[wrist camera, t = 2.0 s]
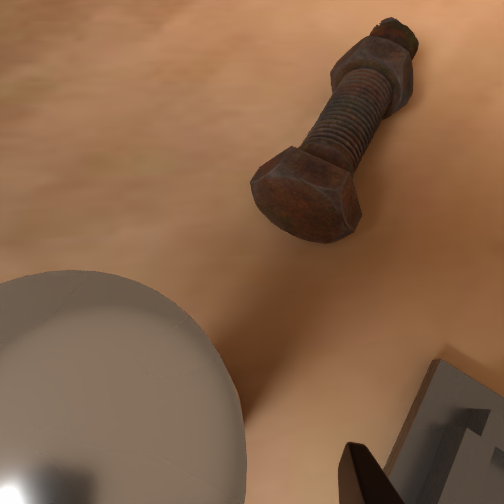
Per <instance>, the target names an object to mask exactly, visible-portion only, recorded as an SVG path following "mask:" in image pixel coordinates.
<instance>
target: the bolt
mask: <svg viewBox="0 0 504 504" xmlns="http://www.w3.org/2000/svg"><path fill="white" fill-rule="evenodd" d="M418 45H419V42H418V40H417V38H416V37H415V35H414V33H413V32H412V31H411V30H410V29H409V28H408V27H407V26H405V25H403V24H402V23H401V22H399V21H398V20H397V19H394V18H393V17H390V18H386V19H384V20H382V21H381V23H380V26H378V25H376V26H375V27H374V28H373V30H372V32H371V33H370V35H369V36H366V37H365V38H363V39H362V40H361V41H359V42H358V43H357V44H356V45H354V46H353V47H352V48H351V49H350V50H349V51H348V52H347V53H346V54H345V55H343V56H342V57H341V58H340V59H339V60H338V61H337V63H336V64H335V66H334V67H333V69H332V71H331V72H330V76H331V86H332V92H333V94H332V96H331V98H330V99H329V101H328V103H327V105H326V106H325V108H324V109H323V111H322V113H321V114H320V116H319V118H318V120H317V121H316V123H315V125H314V126H313V127H312V129H311V131H309V133H308V135H307V137H306V138H305V140H304V141H303V143H302V145H301V146H300V147H299V148H295V147H293V146H290V147H289V148H287V149H286V150H284V151H283V152H281V153H280V154H278V155H277V156H275V157H274V158H272V159H271V160H269V161H268V162H266V163H265V164H263V165H262V166H261V167H259V169H258V170H257V172H256V174H255V175H254V177H253V178H252V180H251V181H250V185H251V190H252V194H253V197H254V201H255V203H256V205H257V207H258V208H259V210H260V211H261V212H262V213H263V214H264V215H265V216H266V217H267V218H268V219H269V220H270V221H271V222H273V223H274V224H275V225H276V226H278V227H279V228H280V229H282V230H284V231H286V232H288V233H290V234H291V235H293V236H295V237H298V238H301V239H305V240H308V241H313V242H320V243H331V242H335V241H338V240H340V239H342V238H344V237H346V236H348V235H349V234H351V233H353V232H354V231H355V229H356V227H357V225H358V223H359V221H360V219H361V217H362V213H361V209H360V206H359V202H358V198H357V195H356V191H355V187H354V184H353V180H352V179H353V173H354V172H355V170H356V169H357V167H358V165H359V163H360V161H361V158H362V156H363V154H364V153H365V151H366V149H367V147H368V145H369V143H370V142H371V139H372V138H373V135H374V133H375V132H376V130H377V128H378V126H379V124H380V122H381V120H383V119H385V118H387V117H389V116H391V115H392V114H394V113H395V112H397V111H398V110H399V109H401V108H402V107H403V106H405V105H406V104H407V103H408V101H409V99H410V97H411V95H412V92H413V68H412V60H413V58H414V56H415V54H416V52H417V50H418Z"/></svg>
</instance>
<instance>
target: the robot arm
mask: <svg viewBox="0 0 504 504" xmlns="http://www.w3.org/2000/svg"><path fill="white" fill-rule="evenodd" d="M338 485H339V504H405V503H404V501H403V500H402V498H401V497H400V495H399V494H398V492H397V491H396V489H395V488H394V486H393V485H392V483H391V482H390V480H389V479H388V477H387V476H386V475H385V473H384V472H383V470H382V469H381V467H380V466H379V464H378V463H377V461H376V460H375V458H374V457H373V455H372V454H371V452H370V451H369V449H368V448H367V447H366V446H365V445H364V444H360V443H354V442H348V443H347V444H346V445H345V448H344V451H343V454H342V457H341V460H340V463H339V467H338Z"/></svg>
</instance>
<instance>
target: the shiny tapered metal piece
mask: <svg viewBox="0 0 504 504" xmlns="http://www.w3.org/2000/svg"><path fill="white" fill-rule="evenodd" d="M246 472H247V456H246V442H245V430H244V423H243V416H242V409H241V403H240V397H239V394H238V391H237V389H236V387H235V385H234V383H233V381H232V379H231V377H230V375H229V373H228V371H227V369H226V367H225V365H224V362H223V360H222V358H221V356H220V355H219V353H218V352H217V350H216V349H215V347H214V345H213V344H212V342H211V341H210V339H209V338H208V336H207V335H206V334H205V333H204V331H203V330H202V329H201V328H200V327H199V326H198V324H197V323H196V322H195V321H194V320H193V319H192V318H191V317H190V316H189V315H188V314H187V313H186V312H185V311H183V310H182V309H181V308H180V307H179V306H178V305H177V304H176V303H174V302H173V301H171V300H170V299H168V298H167V297H165V296H163V295H162V294H160V293H159V292H157V291H156V290H153V289H151V288H149V287H147V286H145V285H143V284H141V283H139V282H136V281H133V280H130V279H127V278H124V277H121V276H118V275H113V274H108V273H102V272H96V271H81V270H65V271H51V272H44V273H39V274H34V275H28V276H24V277H21V278H17V279H14V280H11V281H7V282H4V283H1V284H0V504H244V501H245V494H246Z"/></svg>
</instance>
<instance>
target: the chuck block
mask: <svg viewBox="0 0 504 504" xmlns="http://www.w3.org/2000/svg"><path fill="white" fill-rule="evenodd" d="M383 472H384V473H385V475H386V476H387V477H388V479H389V480H390V482H391V483H392V485H393V486H394V488H395V489H396V491H397V492H398V494H399V495H400V497H401V498H402V500H403V501H404V503H405V504H504V398H503V397H501V396H500V395H498V394H497V393H495V392H493V391H492V390H490V389H489V388H487V387H485V386H484V385H482V384H481V383H479V382H477V381H476V380H474V379H472V378H471V377H469V376H468V375H466V374H464V373H463V372H461V371H460V370H458V369H456V368H455V367H453V366H452V365H450V364H448V363H447V362H445V361H444V360H442V359H438V360H432V363H431V365H430V367H429V369H428V372H427V374H426V376H425V378H424V381H423V383H422V385H421V387H420V390H419V392H418V394H417V396H416V398H415V401H414V403H413V405H412V407H411V410H410V412H409V414H408V416H407V419H406V421H405V423H404V425H403V427H402V430H401V432H400V434H399V436H398V439H397V441H396V443H395V445H394V448H393V450H392V452H391V454H390V457H389V459H388V461H387V463H386V465H385V468H384V470H383Z"/></svg>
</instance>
